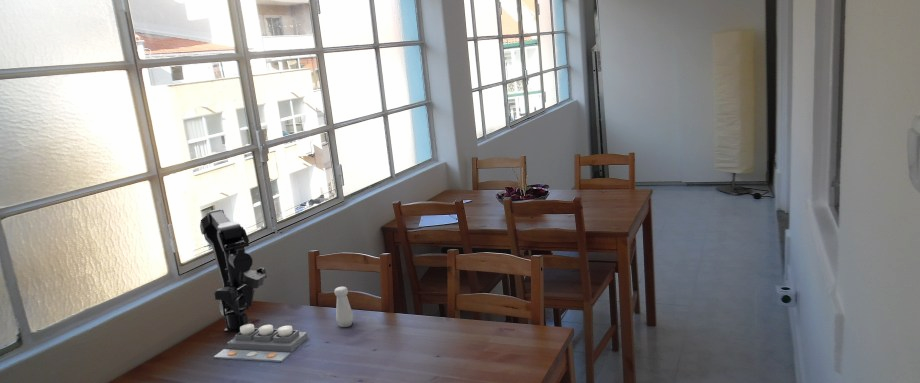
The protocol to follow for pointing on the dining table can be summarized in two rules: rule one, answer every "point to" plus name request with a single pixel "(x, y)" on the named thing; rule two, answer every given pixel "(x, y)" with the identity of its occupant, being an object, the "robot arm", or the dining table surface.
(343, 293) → the salt shaker
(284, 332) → the button right
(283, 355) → the pattern card
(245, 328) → the button left
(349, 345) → the dining table surface
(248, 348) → the button board
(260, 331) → the button middle
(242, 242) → the robot arm
